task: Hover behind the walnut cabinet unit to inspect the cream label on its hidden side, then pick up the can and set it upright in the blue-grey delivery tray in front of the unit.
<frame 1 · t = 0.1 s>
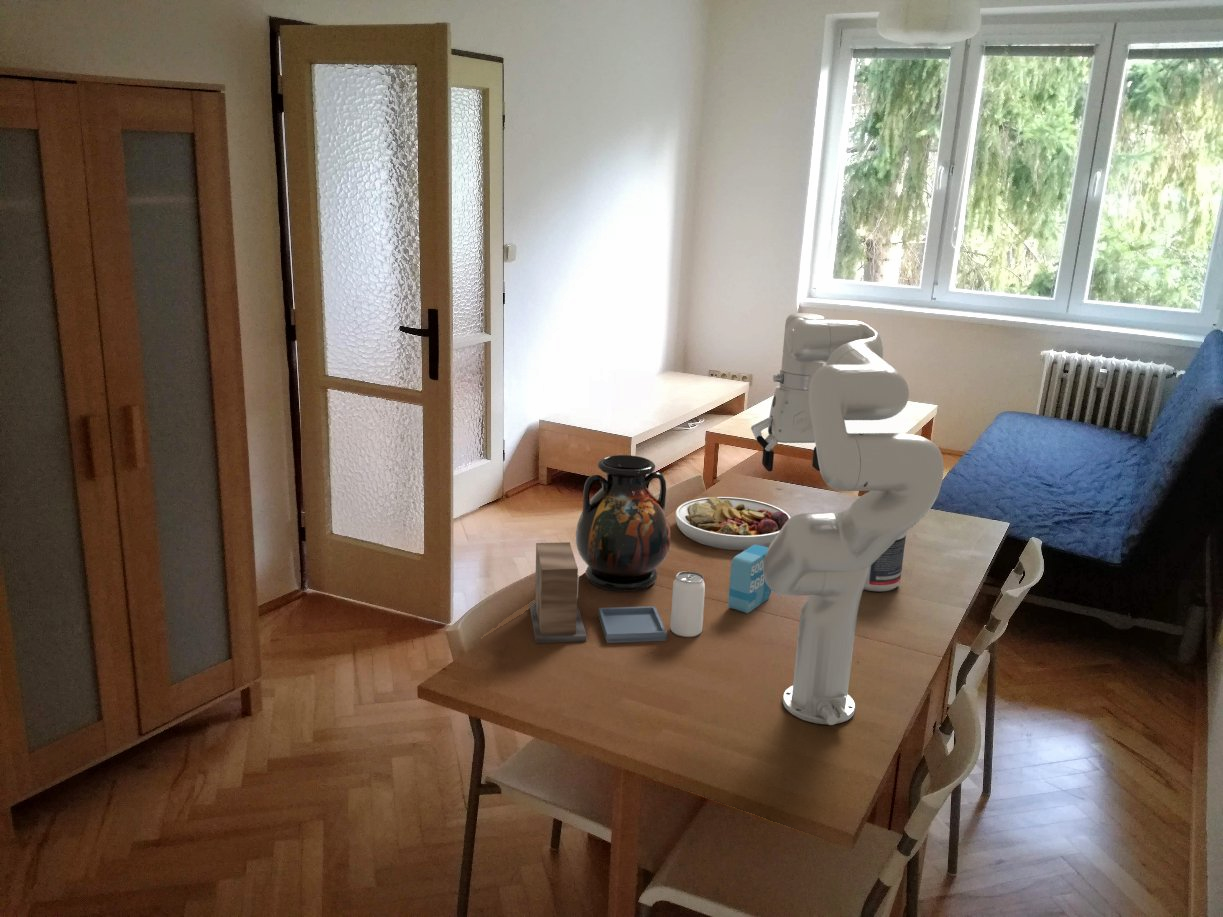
hand: (792, 469, 188), 37 cm above the table, tool pointing down, fingers open, 9 cm apart
amphora vase: (621, 579, 226), on the table
data package: (749, 604, 216), on the table
can: (685, 631, 202), on the table
delivery tray: (631, 628, 202), on the table
bowl: (731, 534, 258), on the table
supplement tub: (870, 583, 230), on the table
cabinet unit: (557, 624, 203), on the table
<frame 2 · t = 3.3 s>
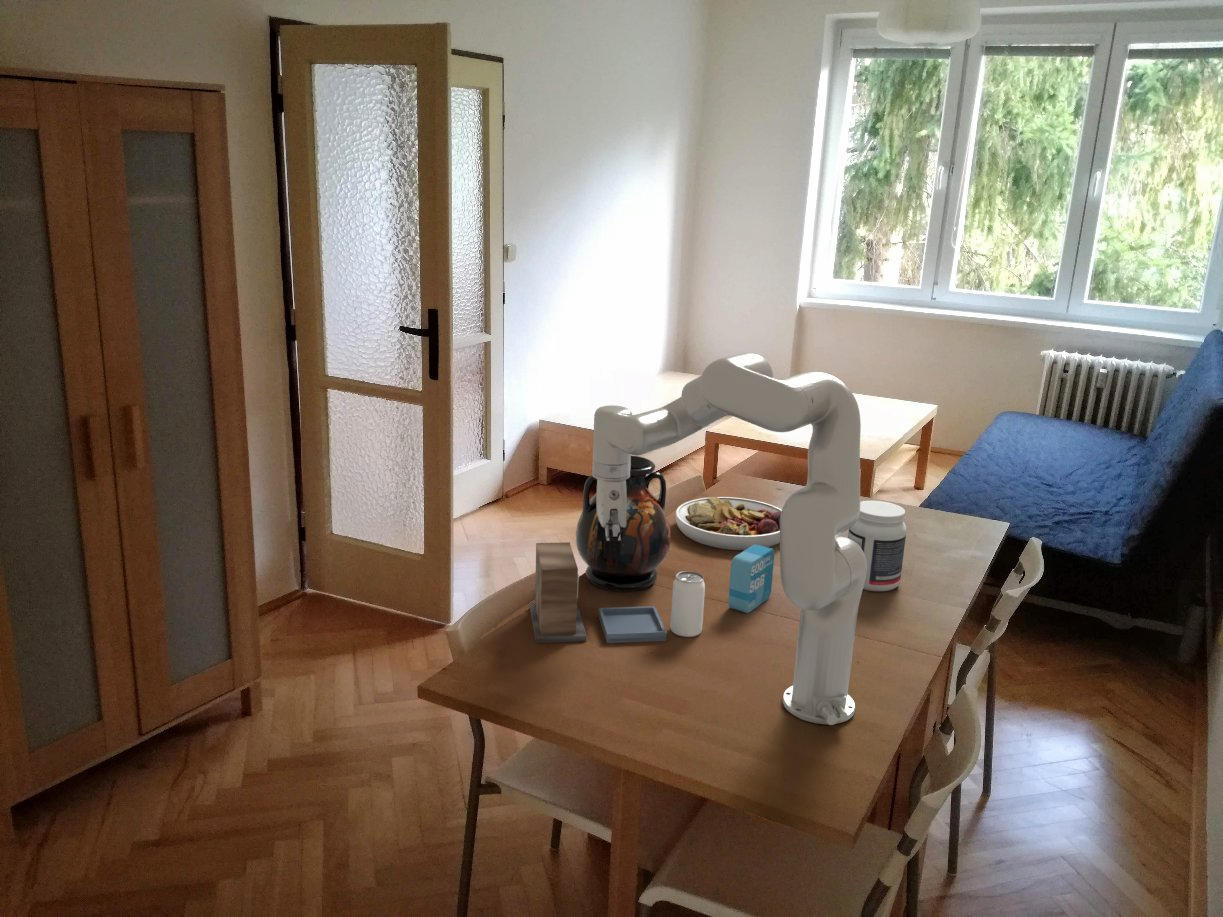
hand: (608, 549, 200), 16 cm above the table, tool pointing down, fingers open, 9 cm apart
nothing on the table moved.
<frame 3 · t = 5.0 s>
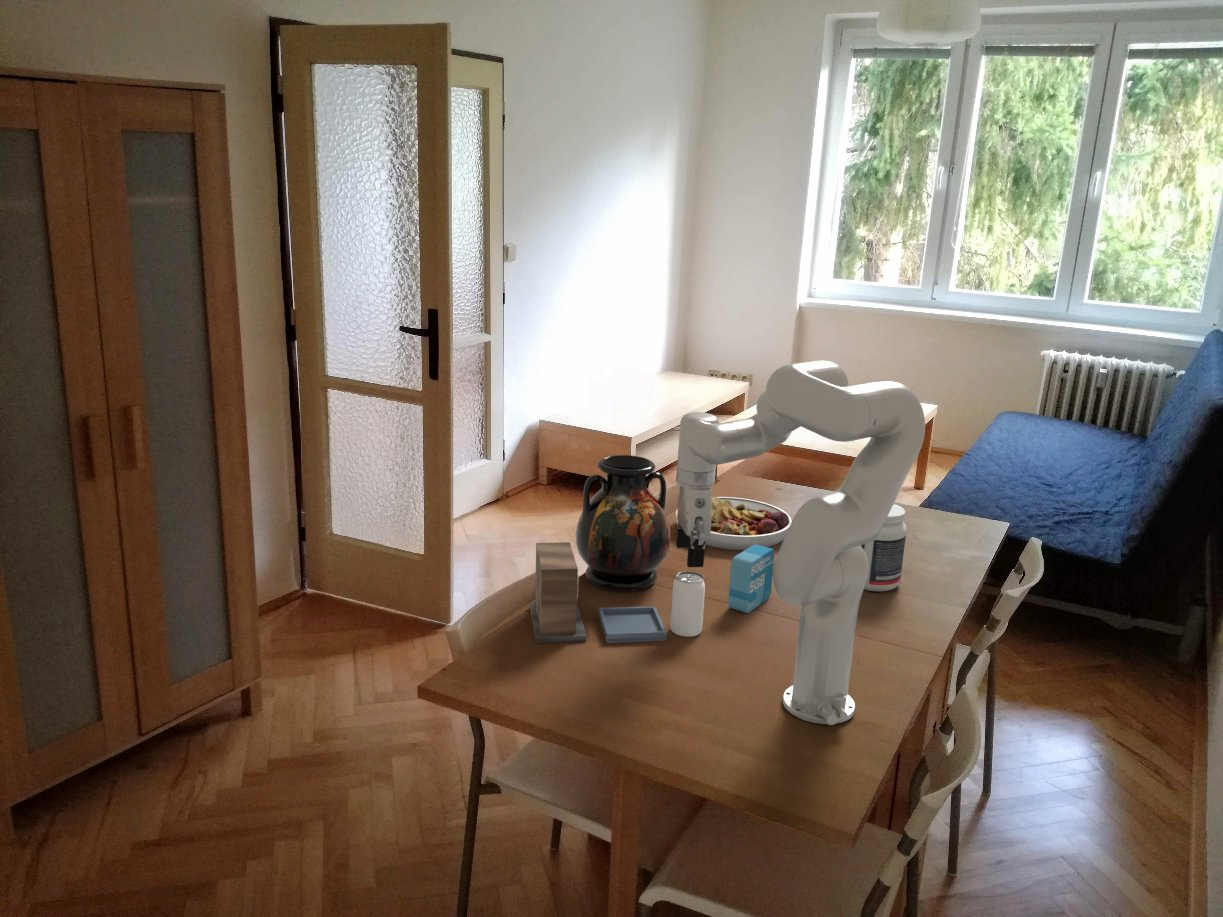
hand: (689, 556, 198), 16 cm above the table, tool pointing down, fingers open, 9 cm apart
nothing on the table moved.
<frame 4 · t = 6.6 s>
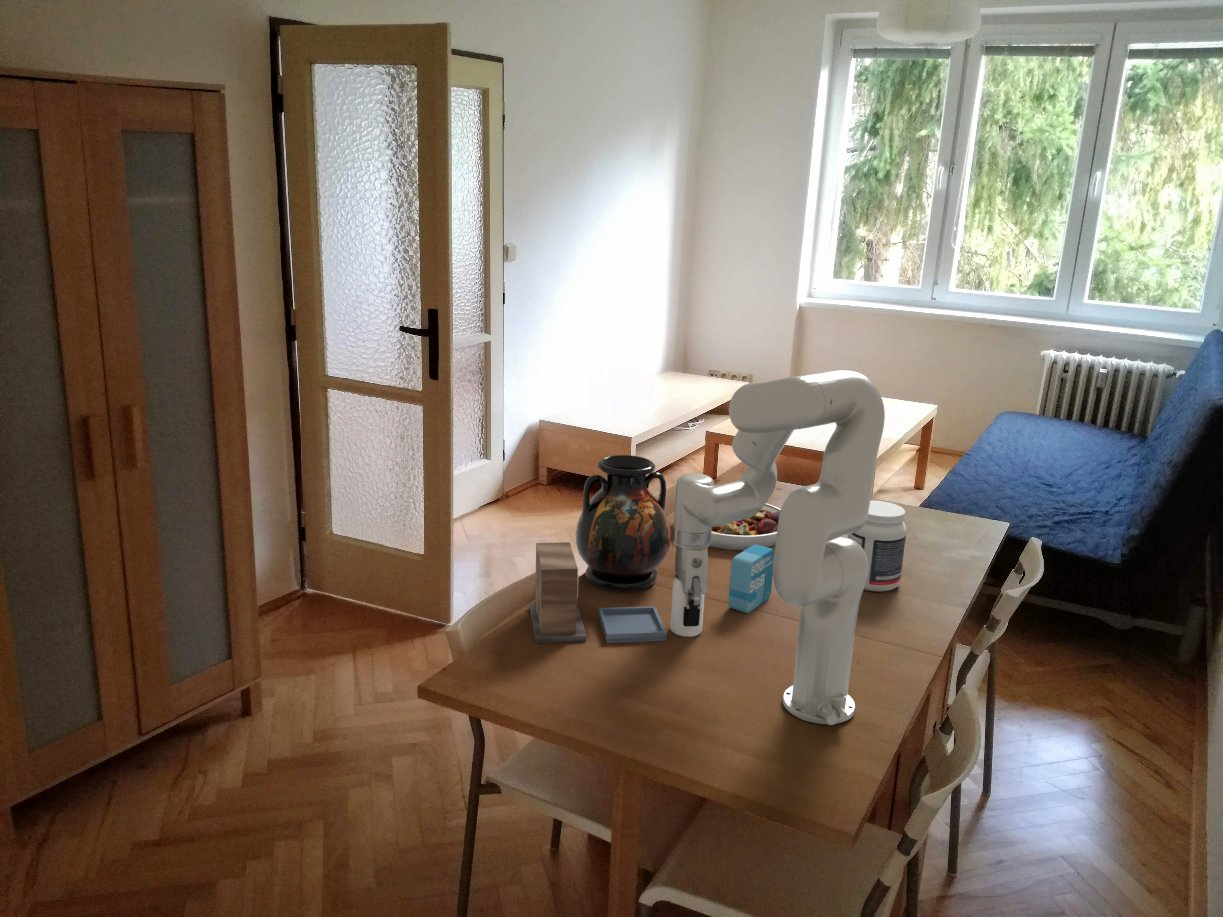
hand: (686, 616, 201), 3 cm above the table, tool pointing down, fingers closed on can, 6 cm apart
can: (685, 631, 202), on the table, touching gripper
everything else where it was.
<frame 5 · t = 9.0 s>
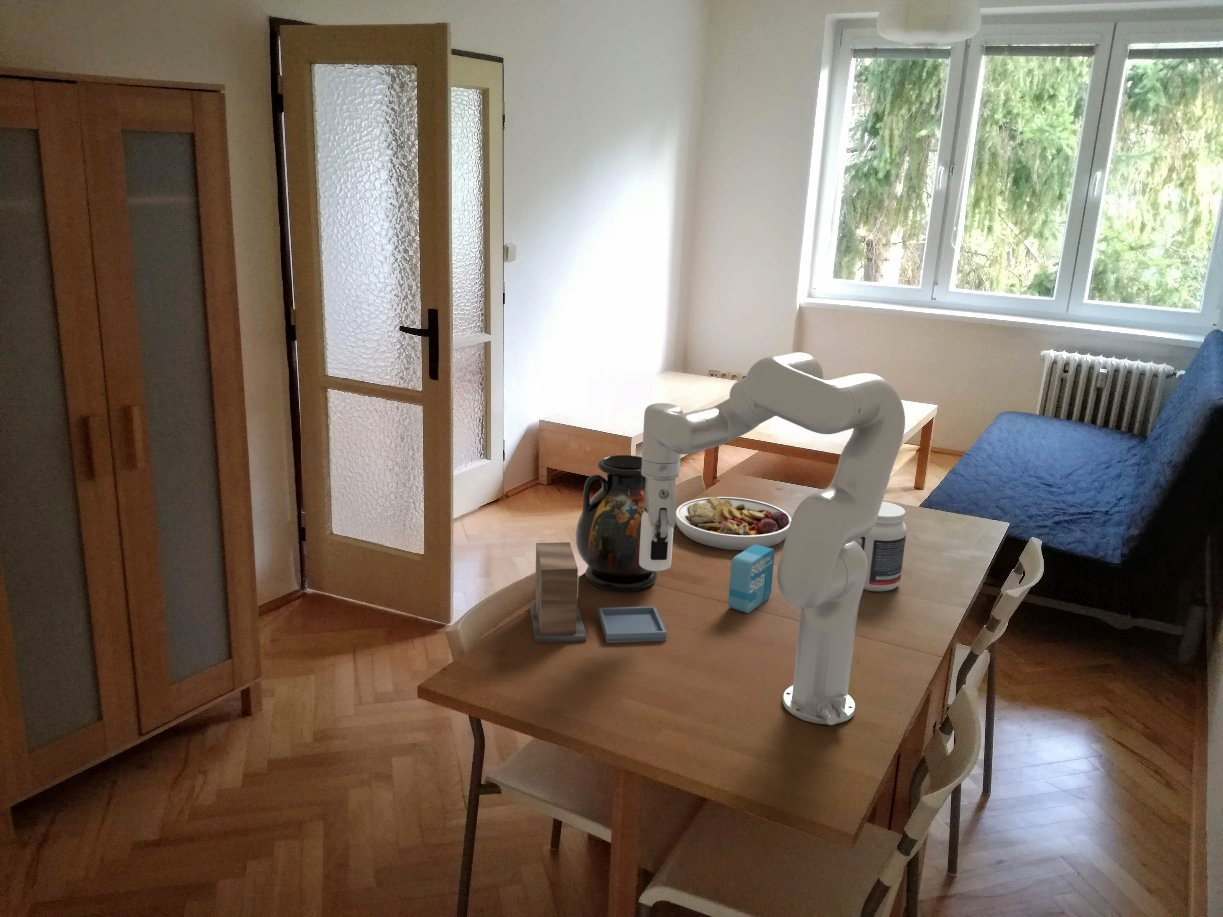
hand: (655, 551, 198), 17 cm above the table, tool pointing down, fingers closed on can, 6 cm apart
can: (654, 566, 198), point 14 cm above the table, touching gripper
everything else where it was.
when the fingers open (6 cm above the table, at t = 11.8 s): can drops 2 cm, resting on delivery tray.
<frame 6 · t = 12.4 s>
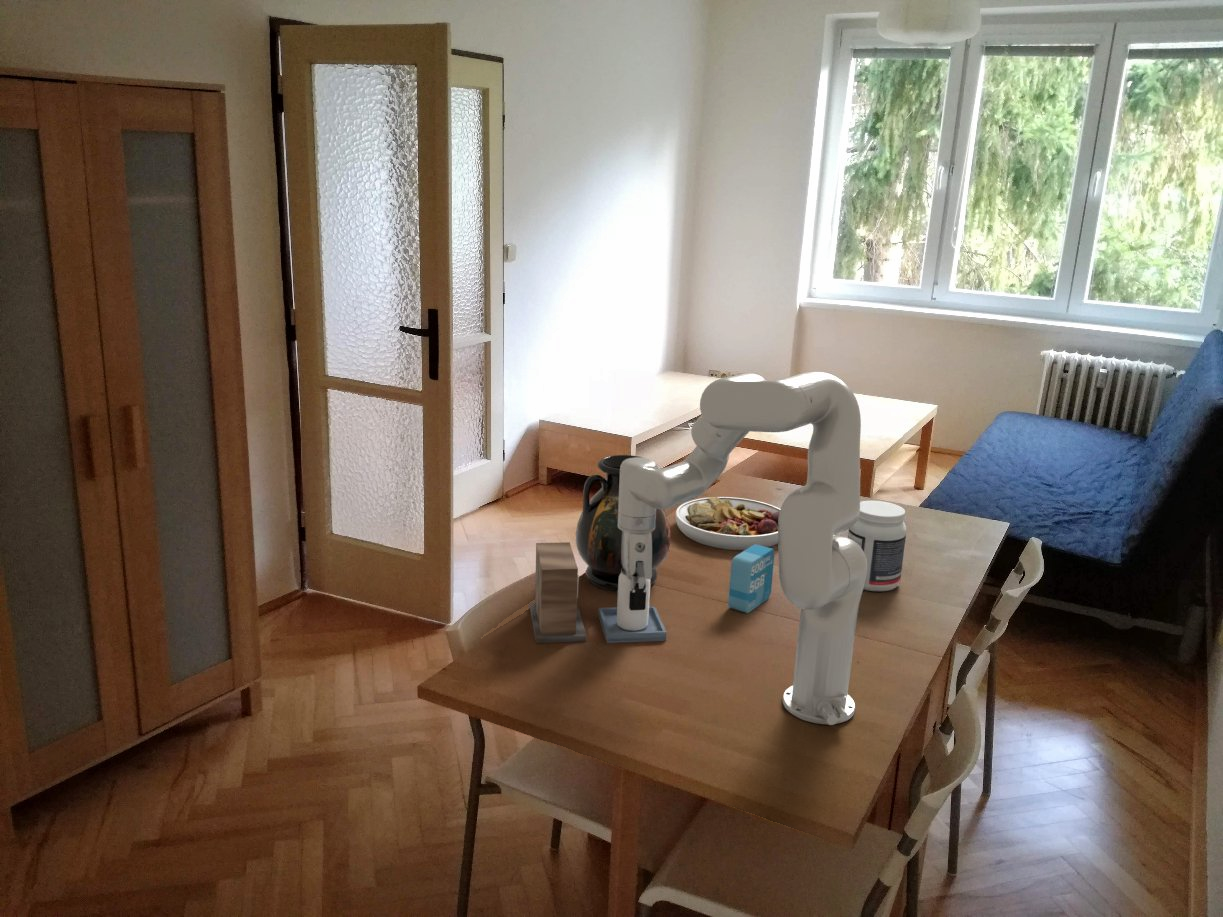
hand: (632, 599, 200), 6 cm above the table, tool pointing down, fingers open, 9 cm apart
can: (632, 625, 202), point 1 cm above the table, touching delivery tray
everything else where it was.
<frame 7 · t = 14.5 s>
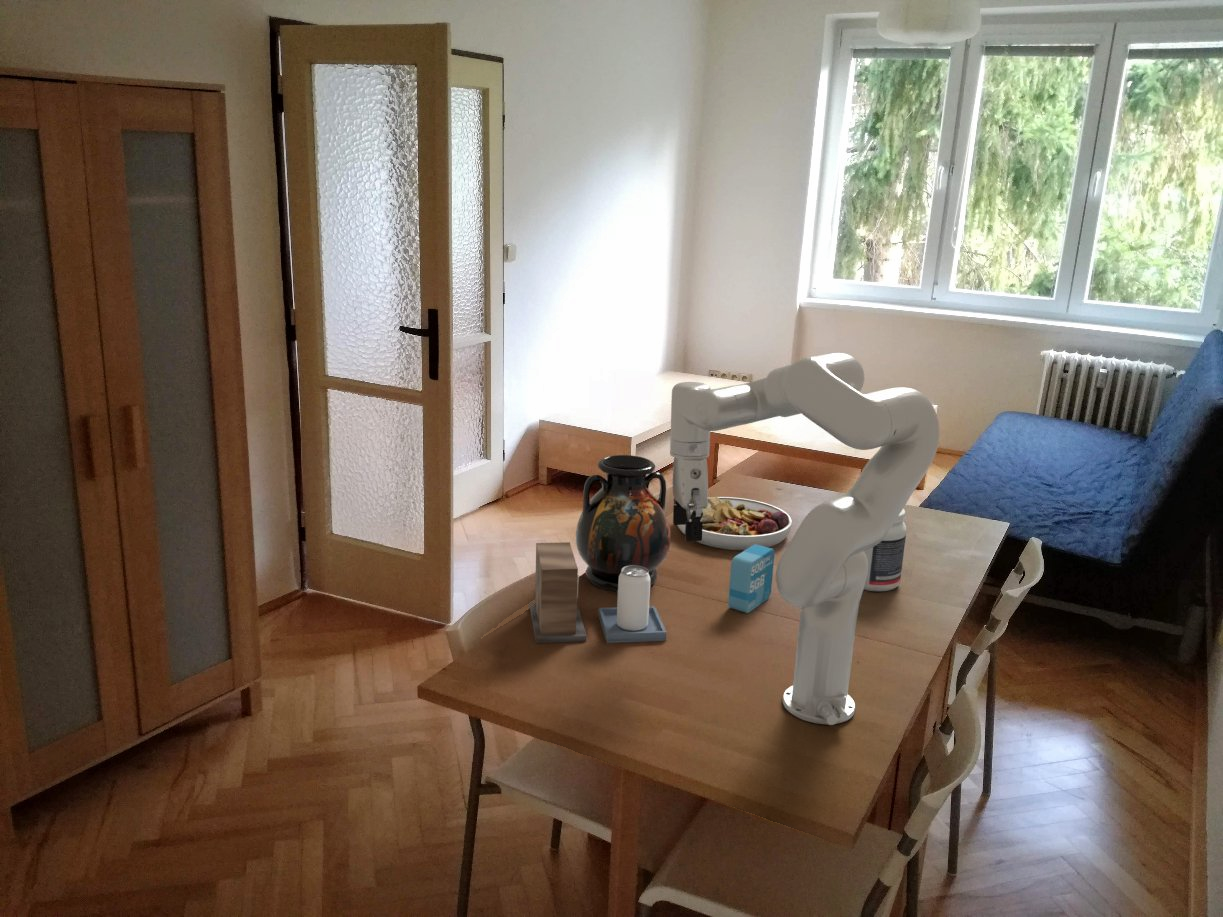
hand: (687, 532, 193), 23 cm above the table, tool pointing down, fingers open, 9 cm apart
nothing on the table moved.
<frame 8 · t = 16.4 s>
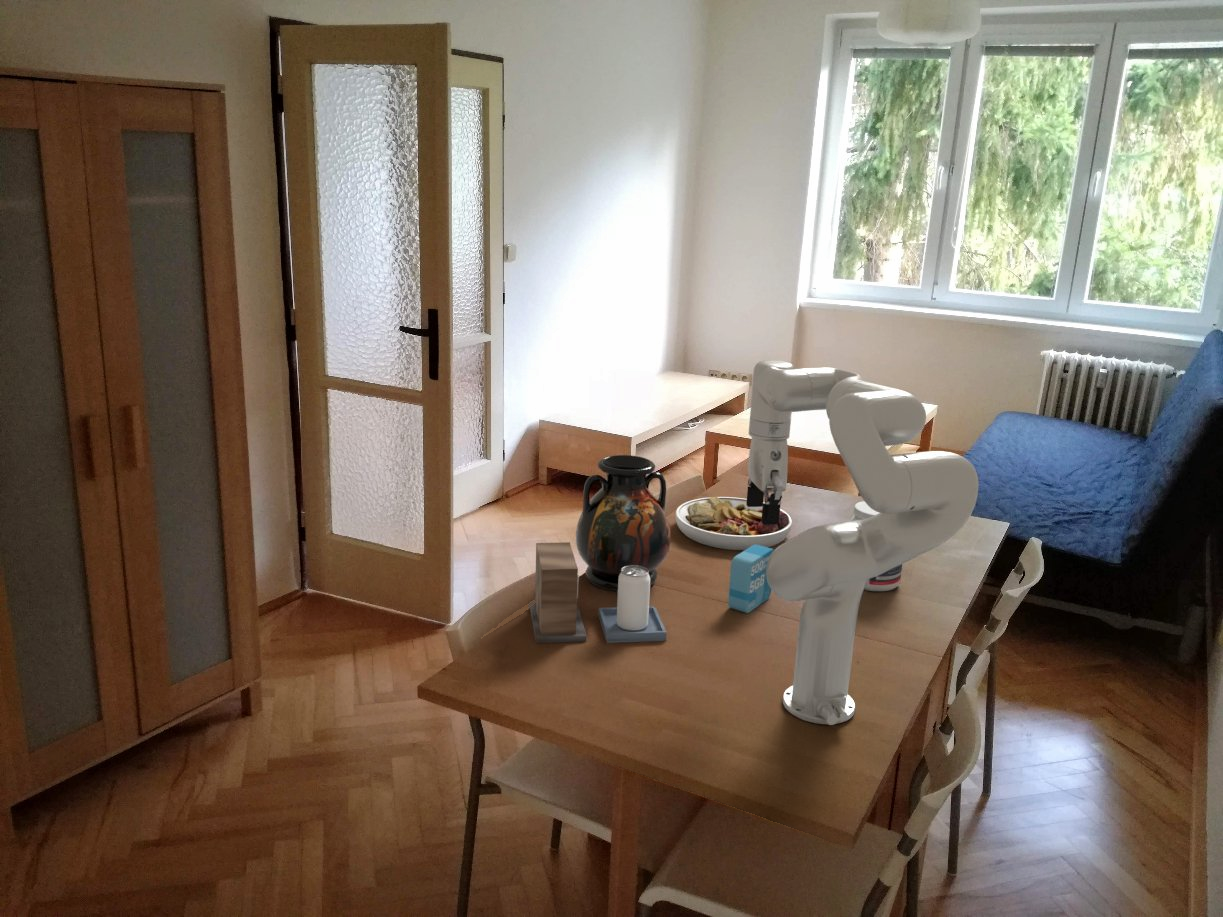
hand: (762, 514, 187), 28 cm above the table, tool pointing down, fingers open, 9 cm apart
nothing on the table moved.
at the end: can inside the target area on the delivery tray (0.1 cm from its centre), point 0.6 cm above the delivery tray's base; can tilted 0°; the gripper is holding nothing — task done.
